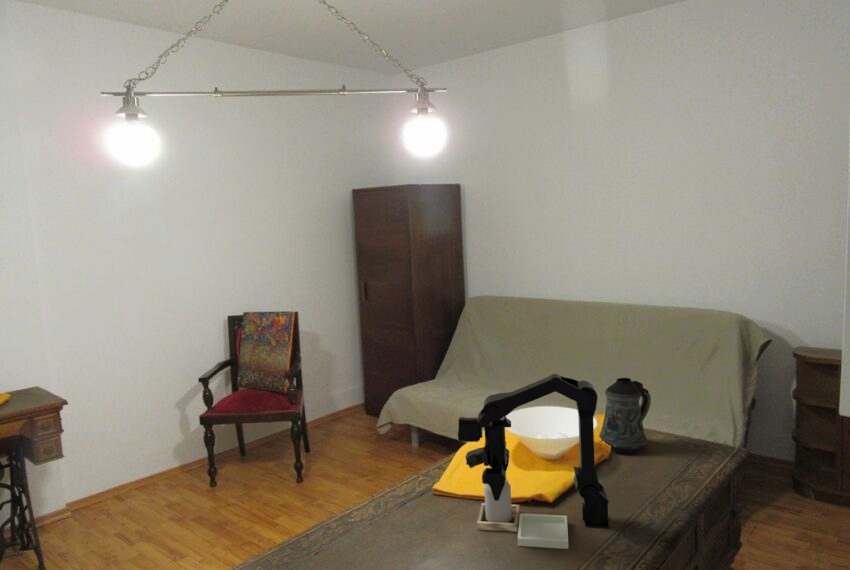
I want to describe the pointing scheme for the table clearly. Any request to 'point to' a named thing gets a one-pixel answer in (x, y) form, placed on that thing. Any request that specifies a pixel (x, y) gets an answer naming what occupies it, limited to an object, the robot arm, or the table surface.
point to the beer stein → (625, 417)
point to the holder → (498, 525)
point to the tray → (543, 531)
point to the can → (498, 504)
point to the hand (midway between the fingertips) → (497, 493)
